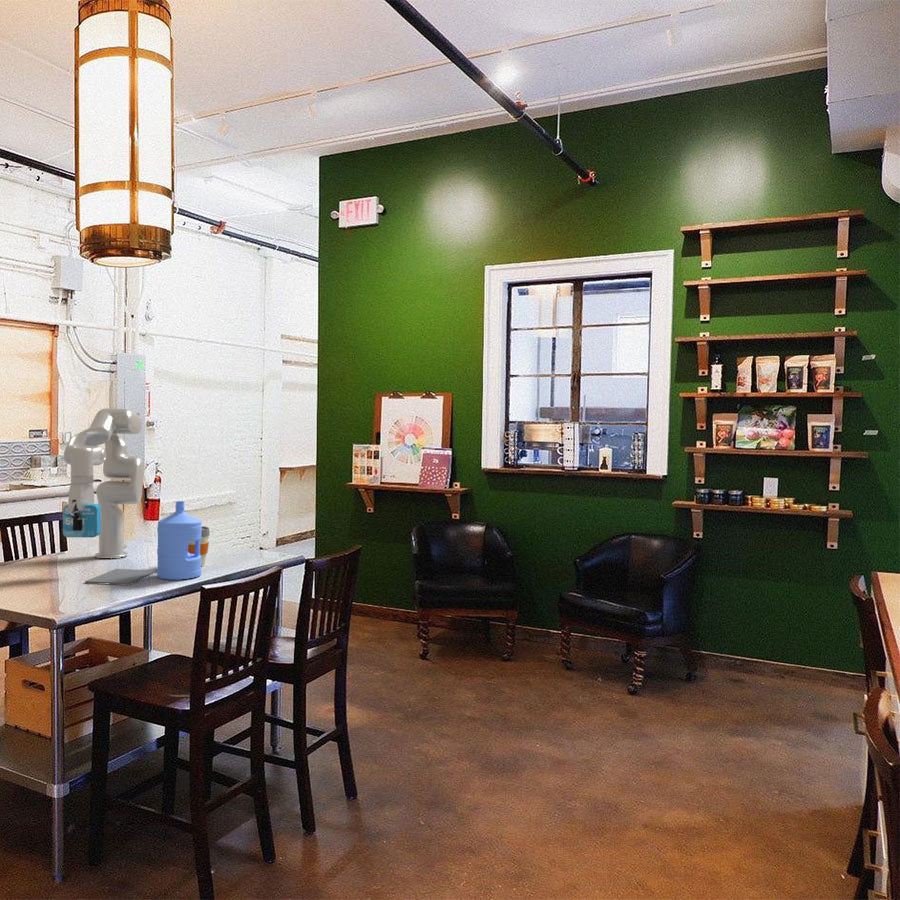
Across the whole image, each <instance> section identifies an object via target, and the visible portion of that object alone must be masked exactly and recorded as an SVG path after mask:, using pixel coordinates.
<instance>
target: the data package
mask: <svg viewBox="0 0 900 900" xmlns="http://www.w3.org/2000/svg"><path fill="white" fill-rule="evenodd" d="M76 511H78V510H76ZM77 514H79V513H77ZM81 520H82V530H81V531H74V530H73V520H72V516H71V514H70V513H69V510H68V504H66V505H64V506H63V508H62V535H63V536H64V537H65V538H90V539H91V538H96V537H99V534H100V533H101V507H100V505H98V503H94V504H89V505H85V510H84V511H83V512H82V515H81Z"/></svg>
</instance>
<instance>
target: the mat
mask: <svg viewBox="0 0 900 900" xmlns="http://www.w3.org/2000/svg"><path fill="white" fill-rule="evenodd" d="M157 570H158V569H157ZM157 570H154V569H130V568H129V569H128V568H125V569H124V568H115V569H113V570H110V571H107V572H104V573H102V574H99V575H97V576H94V577H92V578H90V579H88V580H85V581H84V584H86V583H109V584H108V585H112V584H130V585H132V584H131V583H133V582H135V581H137V582H139V581H141V580H143V579H142V578H144V577H146V578H148V577H150V576H152V575H154V574H153V573H155V572H157ZM151 574H152V575H151ZM155 574H156V573H155ZM149 575H150V576H149ZM147 576H148V577H147ZM140 579H141V580H140ZM144 579H145V578H144ZM138 580H139V581H138ZM135 583H136V582H135ZM133 584H134V583H133Z"/></svg>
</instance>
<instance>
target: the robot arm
mask: <svg viewBox="0 0 900 900" xmlns="http://www.w3.org/2000/svg"><path fill="white" fill-rule="evenodd" d="M142 421H143V420H142V418H141V416H140V415H139V414H138V413H136V412H135V411H133V410H131V409H127V408H101V409H100V410H99V411H97V412H96V414H95V415H94V418H93V420H92V422H91V423H90V426H89V427H88V428H87V429H85V430H82V431H81V432H78V433H76V434H74V435H73V436H72V437H70V439H69V440H68V441H67V442H68V443H66V446H65V448H64V450H63V451H64V452H63V459H64V462H66V464H68V465H69V466H70V486H69V490H68V499H67V500H68V501H67V505H68V510H69V513H70V514H71V516H72V520H73V530H74V531H81V530H82V520H81V515H82V512H83V511H84V510H85V505H89V504H95V491H94V466H100V465H102V464H103V467H102V473H103V476H104V477H105V478H107V479H114V480H108V481H102V482H100V483H99V484H98V485H97V487H96V499H97V504H98V505H100V507H101V533H100V534H99V535H98V552H97V553H95V554H94V558H95V557H97V558H96V559H99V558H111V559H110V560H113V559H112V558H116V559H122V558H121V557H123V558H126V557H127V556H129V555H128V552H127V551H124V549H127V548H128V544H126V543H125V540H124V539H125V538H124V537H125V536H124V534H125V533H124V532H125V520H124V519H125V517H124V516H125V515H124V512H123V510H122V508H121V507H120V506H119V505H137V504H139V503H140V502H141V500H142V495H143V486H144V474H145V472H144V471H145V465H144V461H143V460H142V458H141V457H139V456H130V455H129V456H128V455H127V451H128V446H127V443H126V442H125V440H124V439H123V438H122V436H121V435H137V434H139V433H140V432H141V430H142V429H143V428H142V427H143V422H142ZM103 444H104V448H103V447H102V446H100V445H103ZM115 479H116V480H117V481H116V480H115ZM119 479H121V480H123V479H125V480H126V481H119ZM127 480H130V481H127ZM76 510H78V511H76ZM77 513H79V514H77ZM125 556H126V557H125Z"/></svg>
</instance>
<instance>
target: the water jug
mask: <svg viewBox="0 0 900 900" xmlns="http://www.w3.org/2000/svg"><path fill="white" fill-rule="evenodd" d="M174 508H175V512H174V513H172V514H170V515H168V516H165V517H164V518H162V519H159V521H157V549H156V553H157V554H156V555H157V573H156V575H157V577H158V578H159V579H161V580H164V579H169V580H168V581H183V580H182V579H187V580H190V579H189V578H193V579H195V578H194V577H196V578H199V577H200V576H201V575H202V567H201V556H200V539H201V532H202V526H203V525H202V520H201V519H200V518H198V517H196V516H192V515H190V513H189V514H188V513H186V512H185V501H183V500H181V501H180V500H177V501H175V507H174ZM188 541H195V554H190V553H188ZM198 576H199V577H198Z"/></svg>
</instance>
